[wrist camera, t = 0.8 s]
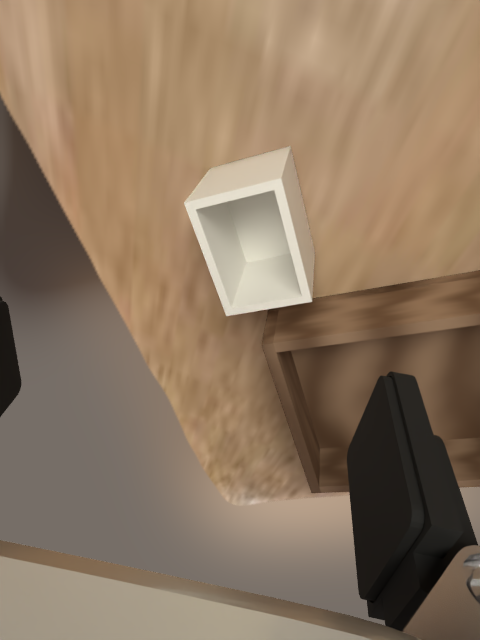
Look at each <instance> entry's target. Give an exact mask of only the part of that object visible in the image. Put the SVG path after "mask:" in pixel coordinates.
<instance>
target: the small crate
mask: <svg viewBox="0 0 480 640" xmlns="http://www.w3.org/2000/svg"><path fill="white" fill-rule="evenodd" d="M184 204H185V207H186V209H187V212H188V215H189V217H190V220H191V223H192V225H193V228H194V231H195V233H196V236H197V239H198V241H199V244H200V247H201V249H202V252H203V255H204V257H205V260H206V263H207V266H208V268H209V271H210V274H211V276H212V279H213V282H214V284H215V287H216V290H217V292H218V295H219V298H220V300H221V303H222V306H223V308H224V311H225V314H226V316H230V315H236V314H242V313H248V312H254V311H260V310H266V309H272V308H278V307H284V306H290V305H296V304H302V303H308V302H312V296H313V279H314V262H315V250H314V246H313V241H312V237H311V233H310V228H309V224H308V220H307V215H306V211H305V206H304V202H303V198H302V193H301V189H300V185H299V180H298V176H297V172H296V167H295V163H294V159H293V154H292V150H291V146H288V147H285V148H281V149H277V150H274V151H270V152H266V153H263V154H259V155H255V156H252V157H248V158H245V159H241V160H237V161H234V162H230V163H226V164H223V165H219V166H216V167H212V168H210V169H209V171H208V172H207V173H206V175H205V176H204V177H203V179H202V180H201V181H200V183H199V184H198V185H197V187H196V188H195V189H194V190H193V192H192V193H191V194H190V196H189V197H188V198H187V200H186V201H185V202H184Z"/></svg>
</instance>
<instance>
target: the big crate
mask: <svg viewBox="0 0 480 640" xmlns="http://www.w3.org/2000/svg"><path fill="white" fill-rule="evenodd" d="M262 348H263V351H264V353H265V356H266V359H267V362H268V365H269V368H270V371H271V374H272V377H273V380H274V383H275V386H276V389H277V392H278V395H279V398H280V401H281V404H282V407H283V410H284V413H285V416H286V418H287V421H288V424H289V427H290V430H291V433H292V436H293V439H294V442H295V445H296V448H297V451H298V454H299V457H300V460H301V463H302V466H303V469H304V472H305V475H306V478H307V481H308V483H309V486H310V489H311V492H312V493H325V492H349V481H348V470H347V452H348V448H349V445H350V443H351V441H352V438H353V436H354V434H355V431H356V429H357V427H358V424H359V422H360V420H361V418H362V415H363V413H364V411H365V408H366V406H367V404H368V401H369V399H370V397H371V394H372V392H373V390H374V387H375V385H376V383H377V380H378V378H379V377H380V376H387V374H388V373H389V372H391V371H392V372H398V373H403V374H408V375H413V376H415V378H416V380H417V383H418V386H419V389H420V393H421V396H422V399H423V402H424V405H425V409H426V412H427V415H428V418H429V422H430V425H431V428H432V431H433V434H434V435H437V436H439V437H440V438H442V440H443V442H444V444H445V447H446V450H447V453H448V456H449V459H450V462H451V465H452V468H453V471H454V474H455V477H456V480H457V483H458V486H459V487H480V271H474V272H468V273H462V274H456V275H450V276H444V277H438V278H432V279H426V280H421V281H415V282H409V283H403V284H397V285H391V286H385V287H379V288H373V289H367V290H361V291H355V292H349V293H343V294H338V295H332V296H326V297H320V298H314V299H312V302H308V303H302V304H296V305H290V306H284V307H278V308H272V309H269V310H268V315H267V320H266V325H265V330H264V335H263V340H262Z"/></svg>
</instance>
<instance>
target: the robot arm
mask: <svg viewBox="0 0 480 640" xmlns="http://www.w3.org/2000/svg"><path fill="white" fill-rule="evenodd" d="M20 388H21V377H20V371H19V366H18V360H17V354H16V349H15V343H14V338H13V331H12V326H11V320H10V314H9V308H8V305H7V304H6V302H4V301H2V298H1V297H0V417H1V415H2V414H3V413H4V411H5V410H6V409H7V408H8V406H9V405H10V404H11V403H12V401H13V400H14V399H15V397H16V396H17V395H18V393H19V391H20ZM347 470H348V481H349V492H350V502H351V513H352V523H353V535H354V545H355V556H356V568H357V579H358V589H359V595H360V598H361V599H365V600H367V606H368V615H369V617H372V618H377V619H381V620H385V625H386V626H384V625H381V624H378V623H374V622H371V621H367V620H364V619H360V618H356V617H353V616H350V615H345V614H341V613H337V612H332V611H328V610H324V609H319V608H315V607H311V606H307V605H303V604H298V603H294V602H290V601H285V600H281V599H276V598H273V597H268V596H263V595H258V594H254V593H249V592H245V591H240V590H235V589H231V588H226V587H221V586H216V585H211V584H207V583H202V582H198V581H193V580H188V579H184V578H179V577H174V576H170V575H165V574H161V573H156V572H151V571H146V570H141V569H137V568H132V567H127V566H122V565H118V564H113V563H108V562H103V561H99V560H94V559H89V558H84V557H80V556H75V555H70V554H65V553H60V552H56V551H51V550H46V549H41V548H36V547H31V546H26V545H22V544H17V543H12V542H7V541H2V540H0V640H480V546H478V544H477V541H476V538H475V535H474V532H473V529H472V526H471V522H470V520H469V517H468V514H467V510H466V507H465V504H464V501H463V498H462V495H461V492H460V489H459V486H458V483H457V480H456V477H455V474H454V471H453V468H452V465H451V462H450V459H449V456H448V453H447V450H446V447H445V444H444V442H443V440H442V438H440V437H439V436H437V435H434V434H433V431H432V428H431V425H430V422H429V418H428V415H427V412H426V409H425V405H424V402H423V399H422V396H421V393H420V389H419V386H418V383H417V380H416V378H415V376H413V375H408V374H403V373H398V372H392V371H391V372H389V373H388V374H387V376H380V377H379V378H378V380H377V383H376V385H375V387H374V390H373V392H372V394H371V397H370V399H369V401H368V404H367V406H366V408H365V411H364V413H363V415H362V418H361V420H360V422H359V424H358V427H357V429H356V431H355V434H354V436H353V438H352V441H351V443H350V445H349V448H348V452H347Z"/></svg>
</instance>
